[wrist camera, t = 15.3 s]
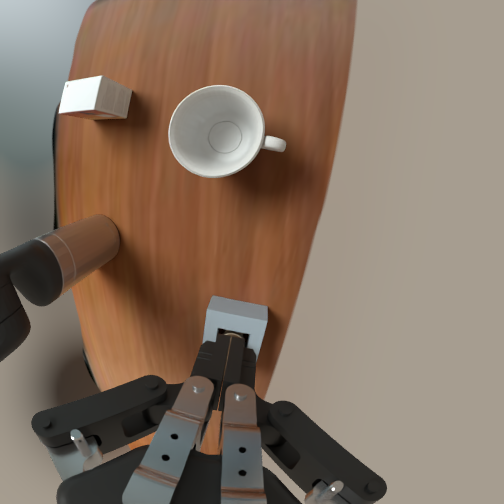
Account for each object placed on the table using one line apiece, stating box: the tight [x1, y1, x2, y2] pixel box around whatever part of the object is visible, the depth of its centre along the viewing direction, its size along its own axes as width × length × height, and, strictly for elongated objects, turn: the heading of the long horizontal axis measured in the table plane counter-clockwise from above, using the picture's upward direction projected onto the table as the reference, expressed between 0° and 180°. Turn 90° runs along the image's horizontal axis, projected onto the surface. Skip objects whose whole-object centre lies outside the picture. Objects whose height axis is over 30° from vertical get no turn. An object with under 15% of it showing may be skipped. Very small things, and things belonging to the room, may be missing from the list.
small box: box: [59, 76, 132, 120], centre depth 33 cm, size 8×6×10 cm
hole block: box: [203, 295, 268, 362], centre depth 47 cm, size 12×10×5 cm
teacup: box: [169, 85, 286, 178], centre depth 35 cm, size 12×15×10 cm
